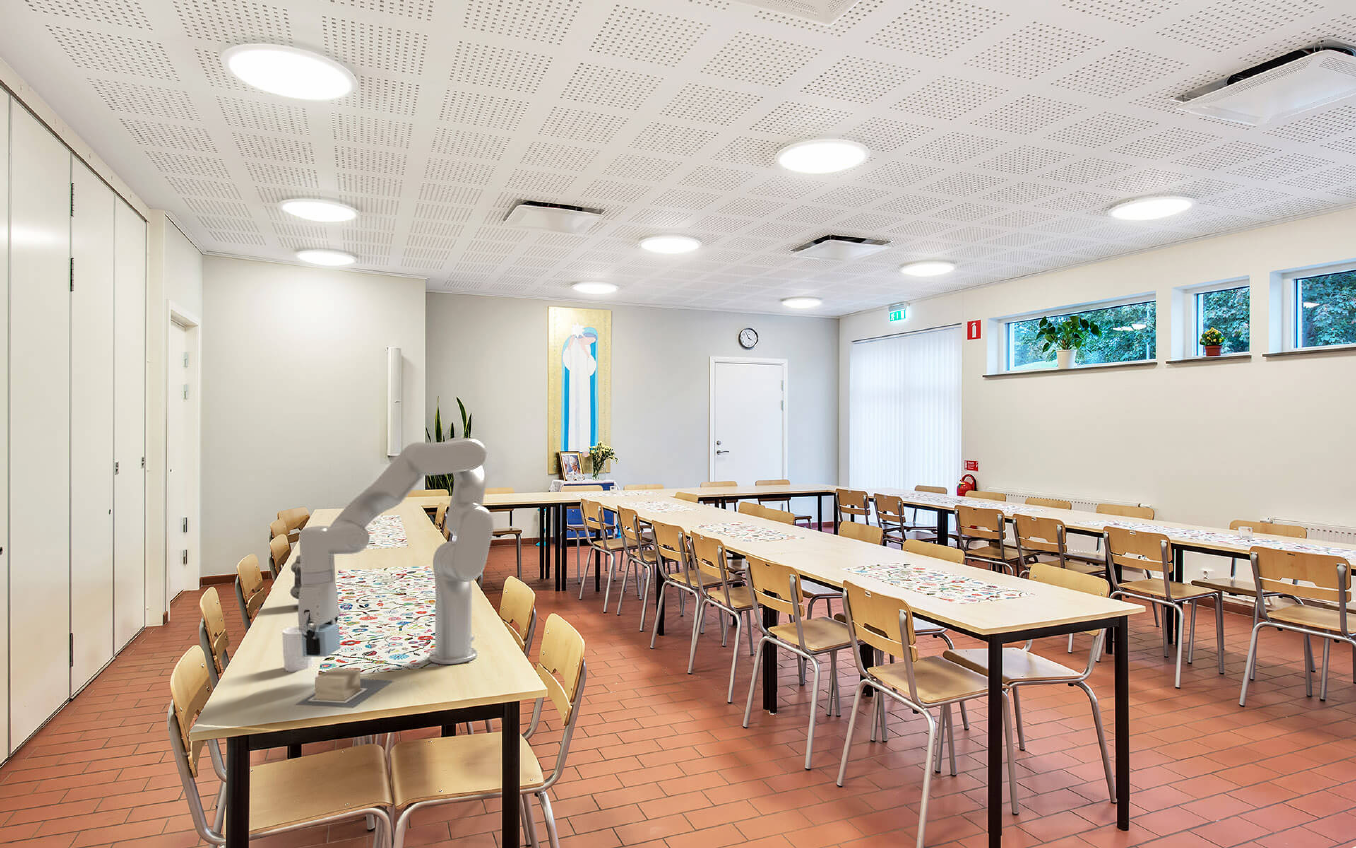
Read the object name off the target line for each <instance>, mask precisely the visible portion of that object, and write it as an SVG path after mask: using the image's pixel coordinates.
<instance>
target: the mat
mask: <svg viewBox="0 0 1356 848" xmlns="http://www.w3.org/2000/svg"><path fill="white" fill-rule="evenodd" d="M393 682H394V680H388V679H387V680H385V679H370V678H369V679H367V678H365V679H364V678H360V691H358V692H357V693H355V694H354V695H352V696H351V697H349V698H347V699H346V700H344V701H336V700H318V699H315V692H314V693H313V694H310V695H309V696H307V697H305V698H304V699H302V700H300V701H298V702H297V703H295V706H296V705H297V706H312V707H314V706H317V707H331V708H332V707H334V708H351V709H353V708H355V707H357V706H359V705H360V704H361V703H364V702H365V701H366V700H368V699H369V698H371V697H372V696H373V695H375V694H377V693H378V692H379V691H381V690H383V689H384V688H385V687H387V686H388V685H390V684H392V683H393Z"/></svg>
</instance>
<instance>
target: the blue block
mask: <svg viewBox="0 0 1356 848" xmlns="http://www.w3.org/2000/svg"><path fill="white" fill-rule="evenodd" d="M310 630H311V631H312V632H314V628H310ZM340 634H341V633H340V624H336V625H321V626H319V631H318V637H317V638H319V642H320V654H319V655H307V654H306V639H304V636H303V635H302V649H303V657H314V658H317V657H318V658H319V657H320V658H321V657H322V658H325V657H328V656H330V655H331V654H333V653H335V652H336V651H338V650H340V649H341V640H340V638H341V637H340V636H341V635H340Z"/></svg>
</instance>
